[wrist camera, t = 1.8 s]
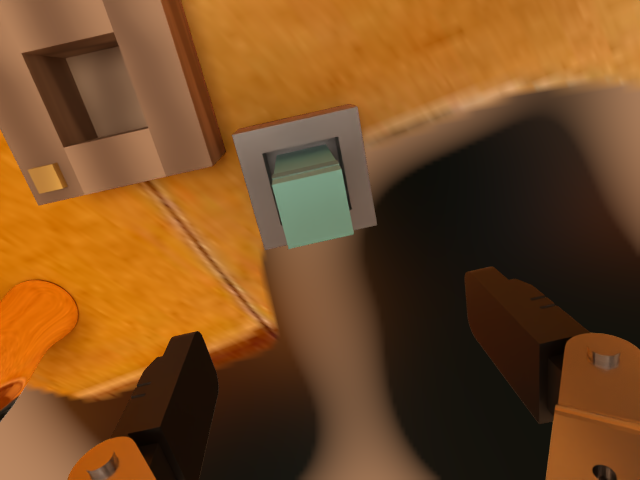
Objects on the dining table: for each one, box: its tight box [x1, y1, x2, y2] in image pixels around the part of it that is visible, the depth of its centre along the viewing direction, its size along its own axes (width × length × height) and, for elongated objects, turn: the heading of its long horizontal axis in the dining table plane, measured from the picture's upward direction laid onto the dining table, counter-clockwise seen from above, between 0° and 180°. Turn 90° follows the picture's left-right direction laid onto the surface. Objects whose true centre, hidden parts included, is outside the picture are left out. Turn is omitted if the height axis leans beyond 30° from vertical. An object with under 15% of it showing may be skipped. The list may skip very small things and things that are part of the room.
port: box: [0, 0, 226, 205], centre depth 27 cm, size 12×12×7 cm
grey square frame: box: [232, 104, 377, 250], centre depth 31 cm, size 9×9×4 cm
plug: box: [272, 144, 354, 249], centre depth 28 cm, size 4×4×10 cm
